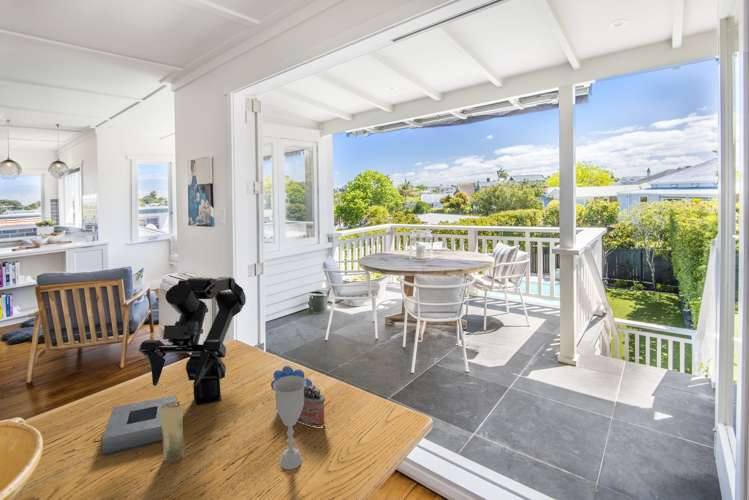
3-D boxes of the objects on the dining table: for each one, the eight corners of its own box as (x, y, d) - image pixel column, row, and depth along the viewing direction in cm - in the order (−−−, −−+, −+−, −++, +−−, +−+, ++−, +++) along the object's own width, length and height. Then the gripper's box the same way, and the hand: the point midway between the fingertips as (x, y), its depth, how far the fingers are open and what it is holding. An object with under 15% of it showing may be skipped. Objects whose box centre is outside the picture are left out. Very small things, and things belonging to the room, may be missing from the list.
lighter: (327, 423, 96) (327, 386, 95) (320, 430, 93) (320, 392, 92) (301, 415, 100) (301, 379, 98) (293, 422, 97) (293, 385, 95)
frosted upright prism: (184, 449, 86) (181, 399, 84) (184, 460, 82) (181, 408, 80) (164, 454, 84) (161, 403, 82) (163, 465, 80) (159, 413, 79)
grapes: (266, 415, 99) (265, 372, 98) (274, 402, 106) (273, 361, 104) (309, 417, 99) (309, 374, 97) (315, 403, 105) (314, 363, 104)
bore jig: (176, 409, 102) (175, 395, 101) (175, 438, 89) (174, 423, 89) (114, 421, 95) (113, 407, 95) (103, 455, 83) (102, 438, 82)
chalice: (277, 450, 86) (276, 375, 83) (308, 449, 86) (307, 375, 84) (272, 473, 78) (270, 392, 76) (304, 472, 79) (304, 391, 77)
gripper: (138, 308, 89) (115, 375, 80) (219, 308, 90) (205, 374, 81) (158, 327, 98) (139, 389, 89) (231, 326, 99) (219, 387, 90)
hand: (174, 385), depth 87 cm, fingers open, 9 cm apart
